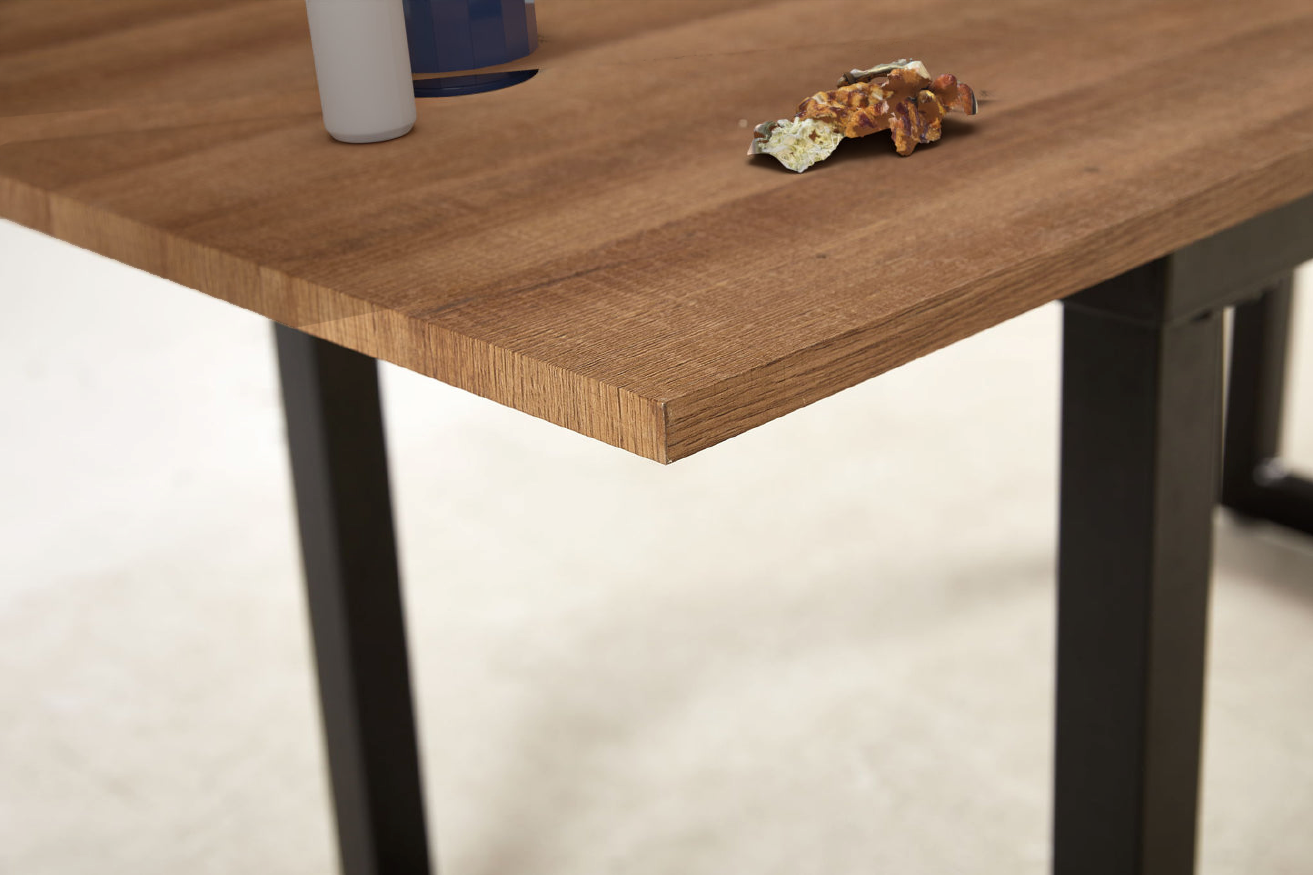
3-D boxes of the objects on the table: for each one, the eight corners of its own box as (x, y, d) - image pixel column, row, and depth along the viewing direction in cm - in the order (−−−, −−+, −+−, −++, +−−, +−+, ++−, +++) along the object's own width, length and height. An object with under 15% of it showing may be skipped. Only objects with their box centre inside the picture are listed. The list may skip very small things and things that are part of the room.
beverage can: (317, 129, 83) (280, -106, 78) (405, 115, 85) (374, -116, 79) (337, 150, 79) (300, -97, 74) (429, 135, 81) (398, -108, 75)
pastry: (721, 157, 74) (718, 82, 73) (883, 104, 81) (884, 35, 80) (833, 183, 69) (832, 104, 68) (995, 124, 77) (998, 51, 75)
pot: (512, 97, 87) (496, -60, 83) (337, 98, 89) (315, -55, 85) (558, 55, 96) (546, -89, 93) (399, 57, 98) (381, -84, 95)
